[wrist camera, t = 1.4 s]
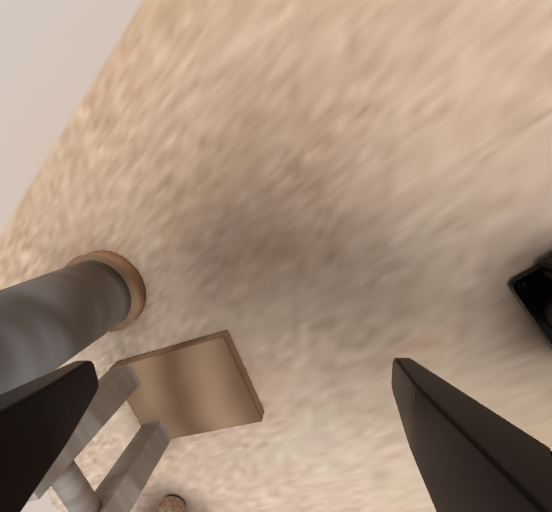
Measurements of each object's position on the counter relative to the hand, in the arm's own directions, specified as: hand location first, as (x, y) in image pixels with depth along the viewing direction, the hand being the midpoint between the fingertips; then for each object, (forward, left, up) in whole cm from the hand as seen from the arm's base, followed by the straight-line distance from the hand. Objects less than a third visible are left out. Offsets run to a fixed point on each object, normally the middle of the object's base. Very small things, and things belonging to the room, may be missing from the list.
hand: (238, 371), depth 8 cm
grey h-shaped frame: (-4, +14, -12) cm, 19 cm away
